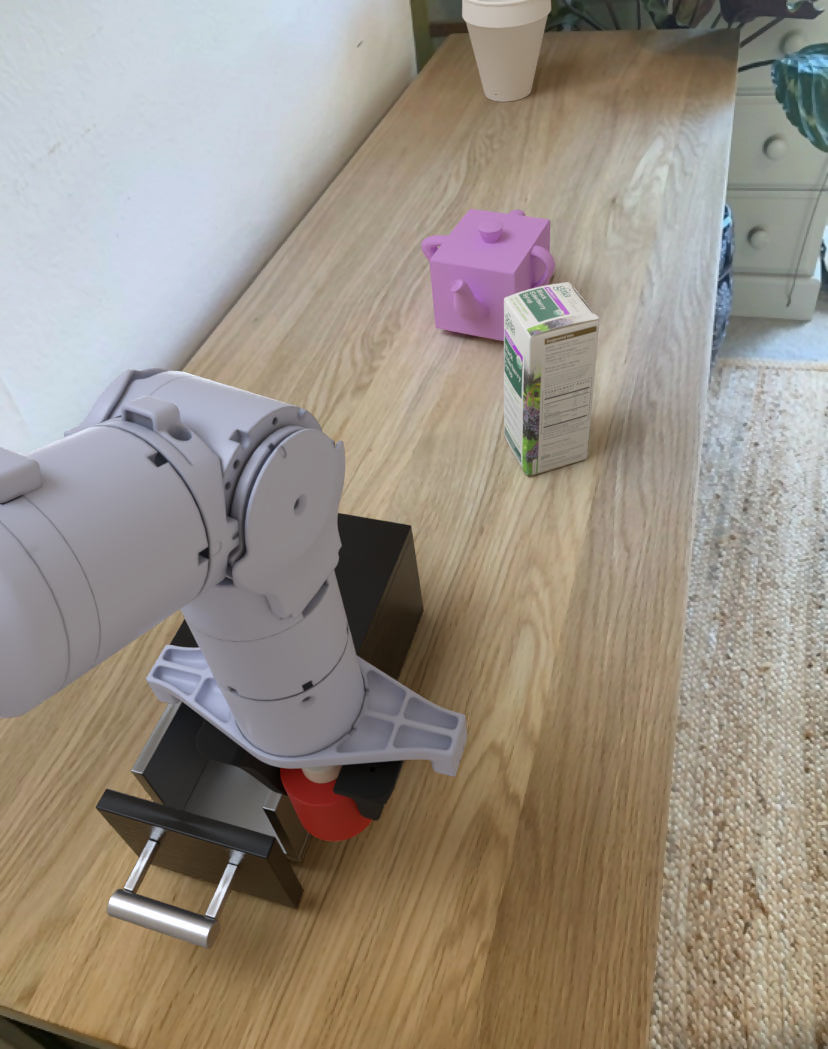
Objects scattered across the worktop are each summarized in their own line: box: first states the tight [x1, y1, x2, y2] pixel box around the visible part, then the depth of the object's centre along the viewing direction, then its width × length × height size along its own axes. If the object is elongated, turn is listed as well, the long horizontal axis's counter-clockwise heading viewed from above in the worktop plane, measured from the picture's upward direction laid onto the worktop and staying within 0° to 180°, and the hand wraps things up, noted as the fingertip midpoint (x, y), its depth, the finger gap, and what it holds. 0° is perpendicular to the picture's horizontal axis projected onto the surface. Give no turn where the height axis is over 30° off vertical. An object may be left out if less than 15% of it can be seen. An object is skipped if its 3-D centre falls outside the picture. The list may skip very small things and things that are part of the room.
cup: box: [461, 0, 552, 103], centre depth 121 cm, size 12×12×14 cm
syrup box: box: [503, 281, 600, 477], centre depth 69 cm, size 6×6×14 cm
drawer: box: [95, 701, 313, 950], centre depth 50 cm, size 17×10×8 cm, turn 162°
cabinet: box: [168, 512, 425, 682], centre depth 58 cm, size 14×12×10 cm
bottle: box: [280, 765, 373, 842], centre depth 43 cm, size 4×4×6 cm
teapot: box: [420, 208, 556, 342], centre depth 85 cm, size 18×14×10 cm
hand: (334, 789), depth 44 cm, fingers closed on bottle, 4 cm apart
